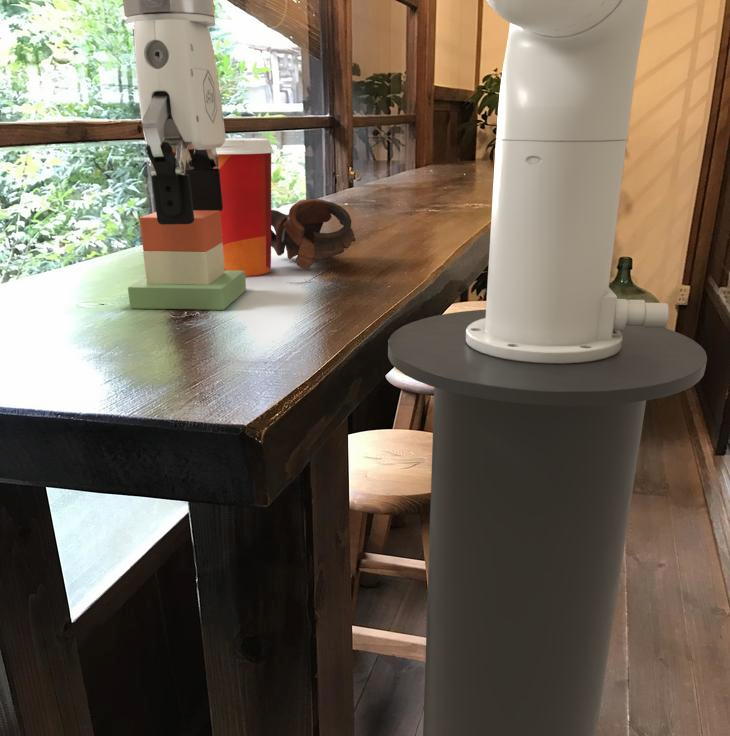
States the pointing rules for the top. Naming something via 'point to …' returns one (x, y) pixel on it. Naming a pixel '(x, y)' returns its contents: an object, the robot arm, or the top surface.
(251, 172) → the paper cup
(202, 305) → the sage green pad
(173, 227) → the orange rectangular block
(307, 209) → the brown coiled band
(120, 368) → the top surface
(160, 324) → the top surface
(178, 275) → the cream rectangular block
